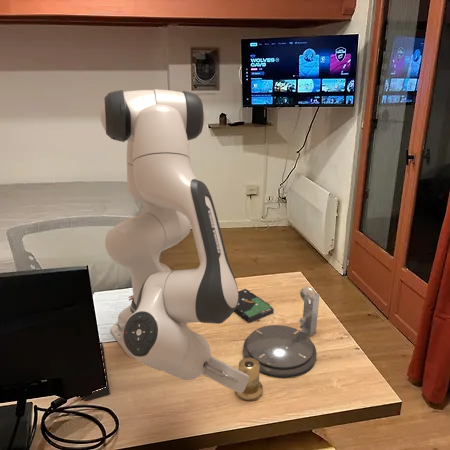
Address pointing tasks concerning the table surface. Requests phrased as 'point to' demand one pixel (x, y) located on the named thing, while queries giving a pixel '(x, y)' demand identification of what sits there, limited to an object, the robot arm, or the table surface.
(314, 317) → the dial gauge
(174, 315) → the robot arm
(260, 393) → the brass hub
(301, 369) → the turntable base
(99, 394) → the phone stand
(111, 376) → the table surface
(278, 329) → the turntable platter
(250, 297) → the disk drive
